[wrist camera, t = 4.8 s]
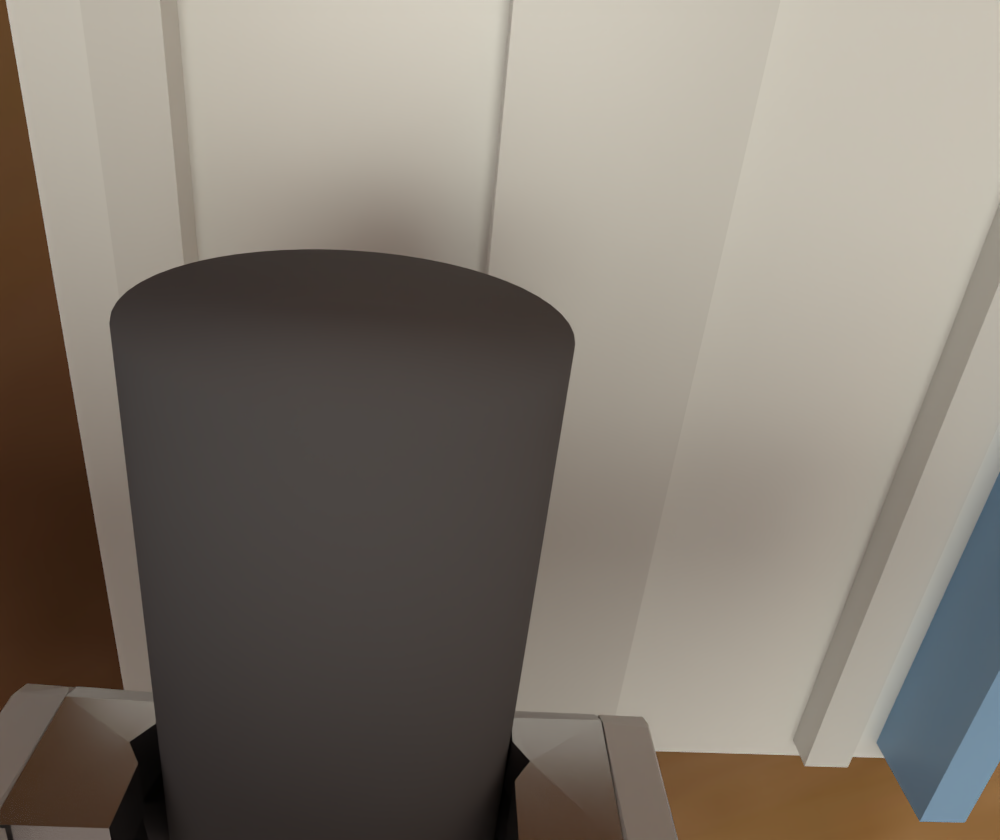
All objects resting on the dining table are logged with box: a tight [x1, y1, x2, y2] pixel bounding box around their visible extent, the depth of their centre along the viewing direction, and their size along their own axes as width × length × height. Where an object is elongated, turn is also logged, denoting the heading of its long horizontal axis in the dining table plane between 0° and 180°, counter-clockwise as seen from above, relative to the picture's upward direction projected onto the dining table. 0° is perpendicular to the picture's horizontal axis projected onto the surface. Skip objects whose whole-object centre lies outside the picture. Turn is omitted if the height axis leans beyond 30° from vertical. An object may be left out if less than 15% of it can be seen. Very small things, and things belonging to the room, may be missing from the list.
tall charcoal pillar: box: [109, 249, 575, 840], centre depth 9 cm, size 10×4×4 cm, turn 174°
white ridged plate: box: [6, 0, 1000, 822], centre depth 14 cm, size 16×18×3 cm
